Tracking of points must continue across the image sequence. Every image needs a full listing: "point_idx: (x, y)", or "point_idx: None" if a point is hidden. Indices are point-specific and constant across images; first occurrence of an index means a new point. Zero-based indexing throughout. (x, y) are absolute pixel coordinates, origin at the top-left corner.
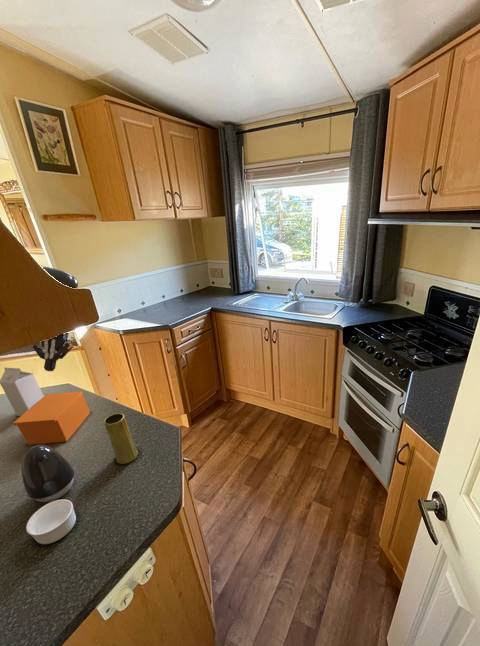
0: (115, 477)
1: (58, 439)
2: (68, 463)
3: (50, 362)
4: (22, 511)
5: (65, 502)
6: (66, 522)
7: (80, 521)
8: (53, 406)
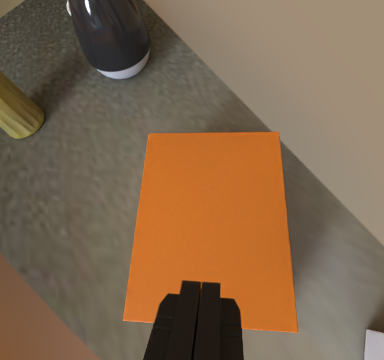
0: (42, 83)
1: None
2: (79, 41)
3: (170, 339)
4: (161, 42)
5: None
6: None
7: None
8: (192, 208)
